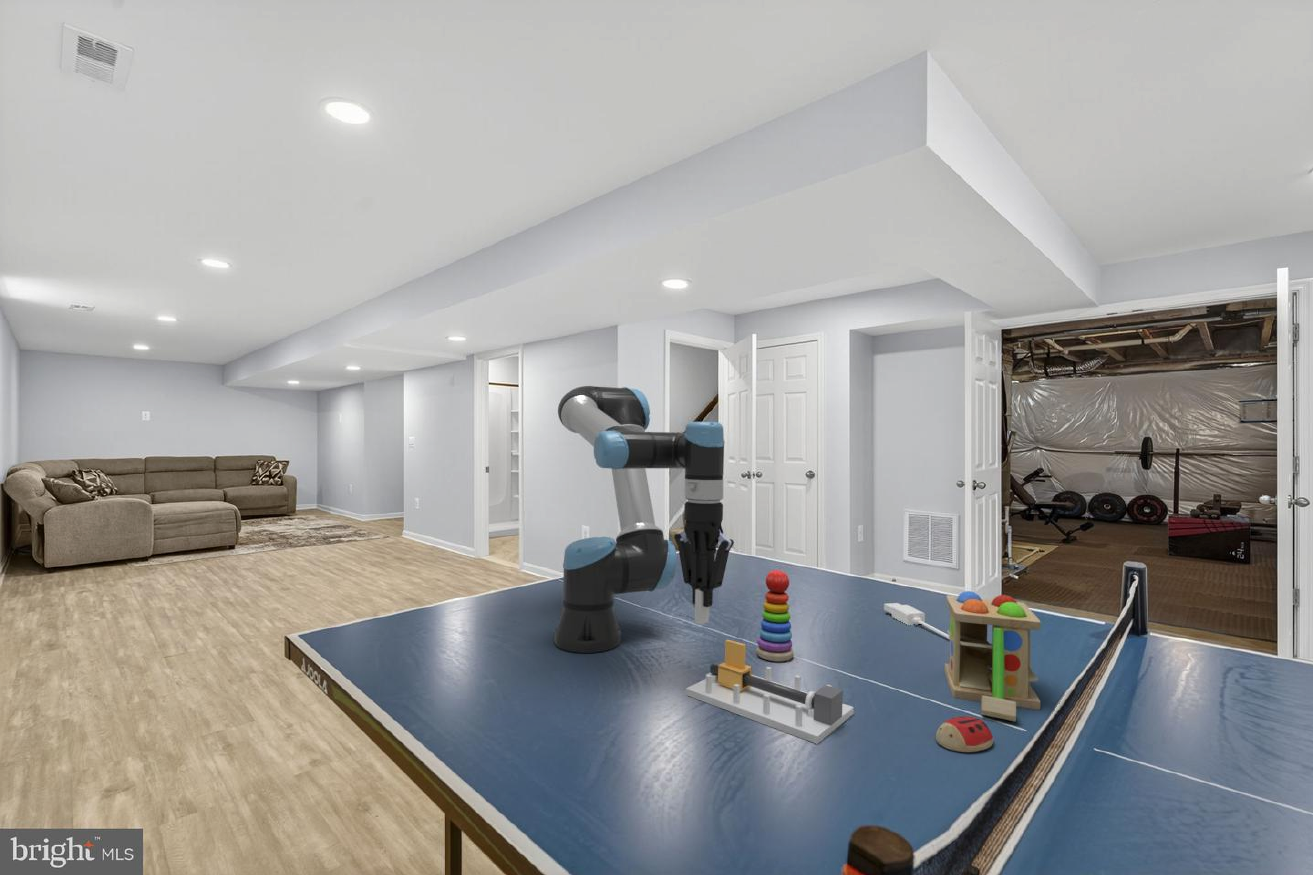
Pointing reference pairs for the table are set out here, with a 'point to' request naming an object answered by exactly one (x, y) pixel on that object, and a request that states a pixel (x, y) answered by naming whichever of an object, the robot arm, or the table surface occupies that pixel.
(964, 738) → the ladybug figurine
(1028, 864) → the table surface
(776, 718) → the slider track board
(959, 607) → the pounding bench toy
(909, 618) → the charging cable
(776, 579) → the stacking toy
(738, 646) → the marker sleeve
